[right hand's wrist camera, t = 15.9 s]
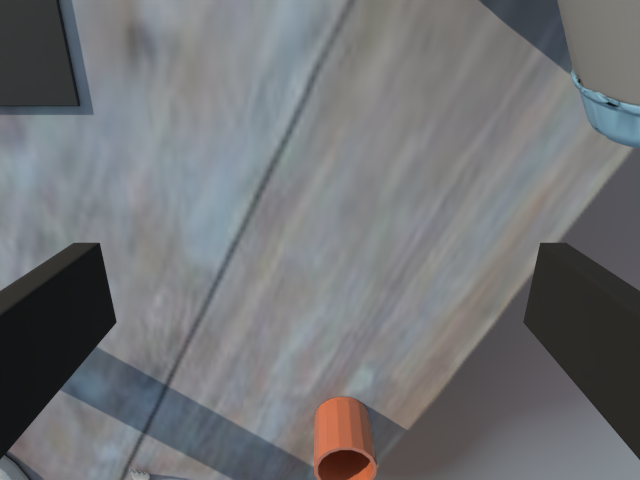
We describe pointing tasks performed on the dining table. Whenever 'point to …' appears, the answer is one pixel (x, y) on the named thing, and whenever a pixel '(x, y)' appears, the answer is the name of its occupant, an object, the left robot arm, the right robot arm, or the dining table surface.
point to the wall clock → (10, 470)
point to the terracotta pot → (343, 441)
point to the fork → (140, 475)
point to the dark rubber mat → (34, 55)
